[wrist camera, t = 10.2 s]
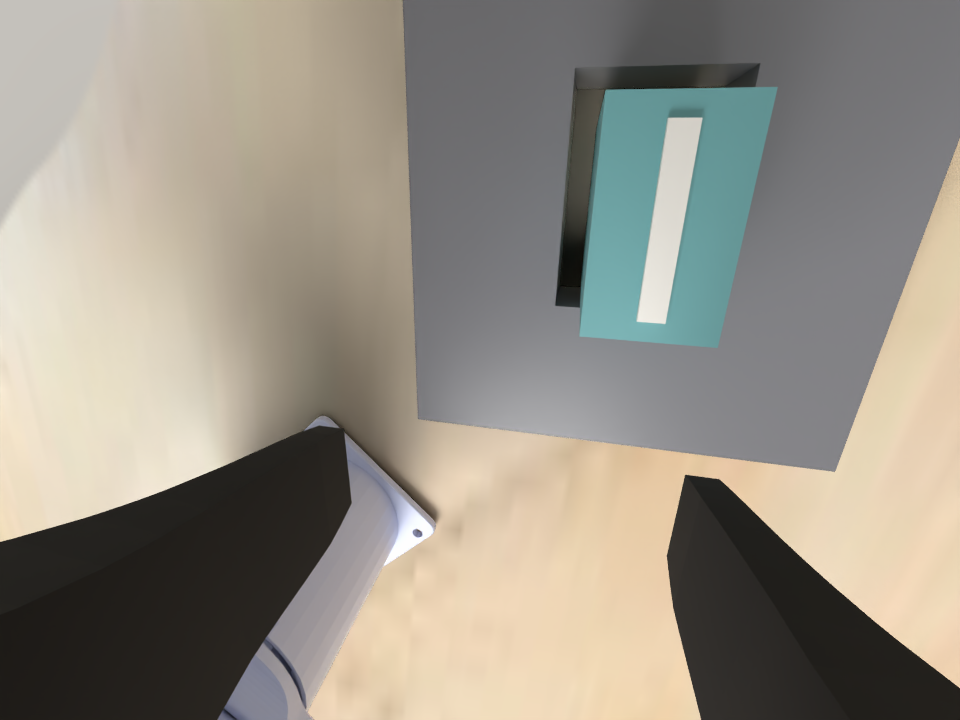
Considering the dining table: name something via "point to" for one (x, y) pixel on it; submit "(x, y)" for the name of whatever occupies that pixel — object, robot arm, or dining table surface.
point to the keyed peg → (669, 210)
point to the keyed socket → (768, 233)
